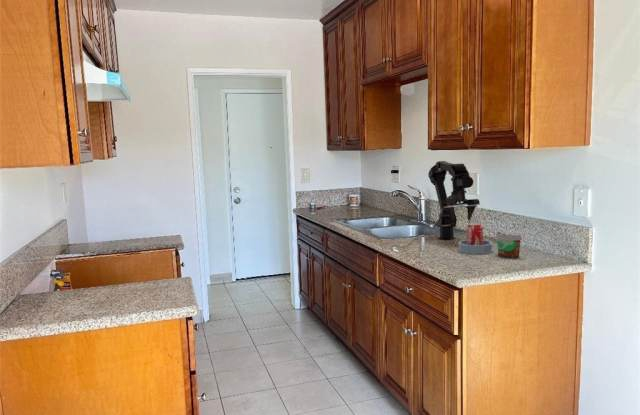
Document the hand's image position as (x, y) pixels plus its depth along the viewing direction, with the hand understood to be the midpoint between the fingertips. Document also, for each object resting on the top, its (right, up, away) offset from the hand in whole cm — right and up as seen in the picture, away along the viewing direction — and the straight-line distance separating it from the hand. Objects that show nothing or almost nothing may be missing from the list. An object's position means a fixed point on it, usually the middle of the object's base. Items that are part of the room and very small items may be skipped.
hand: (460, 220), depth 242 cm
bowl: (+3, -14, -14) cm, 20 cm away
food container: (+11, -15, -28) cm, 33 cm away
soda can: (+2, -13, -14) cm, 19 cm away
